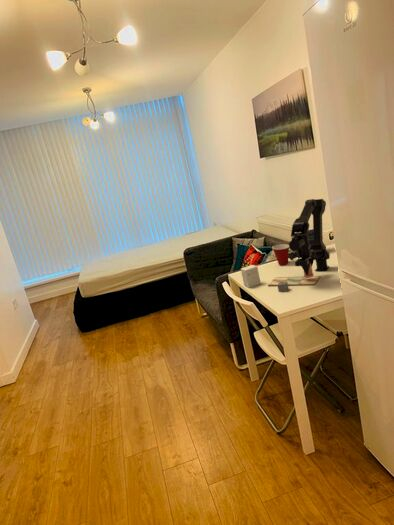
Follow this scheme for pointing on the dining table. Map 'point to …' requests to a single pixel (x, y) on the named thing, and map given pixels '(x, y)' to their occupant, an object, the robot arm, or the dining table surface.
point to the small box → (250, 276)
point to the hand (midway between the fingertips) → (308, 273)
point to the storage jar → (310, 237)
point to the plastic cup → (281, 253)
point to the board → (295, 281)
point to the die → (283, 286)
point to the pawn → (309, 273)
